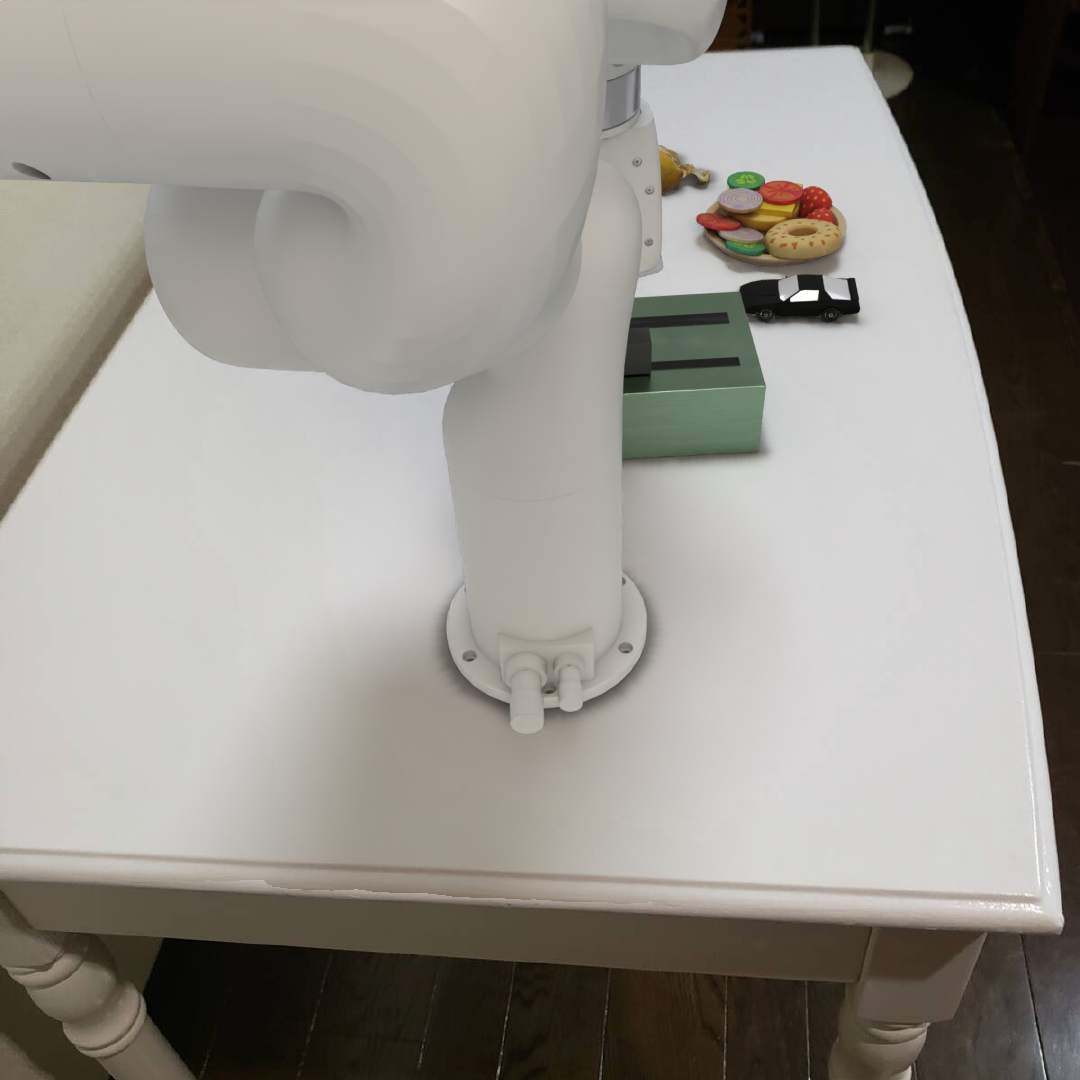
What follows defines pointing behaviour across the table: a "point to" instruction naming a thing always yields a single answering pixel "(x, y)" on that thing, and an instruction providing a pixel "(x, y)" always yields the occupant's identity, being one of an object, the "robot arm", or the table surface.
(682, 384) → the toaster
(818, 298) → the toy car
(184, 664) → the table surface
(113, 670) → the table surface
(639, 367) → the slider
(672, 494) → the table surface
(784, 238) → the toy food set
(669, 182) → the golden rounded piece
